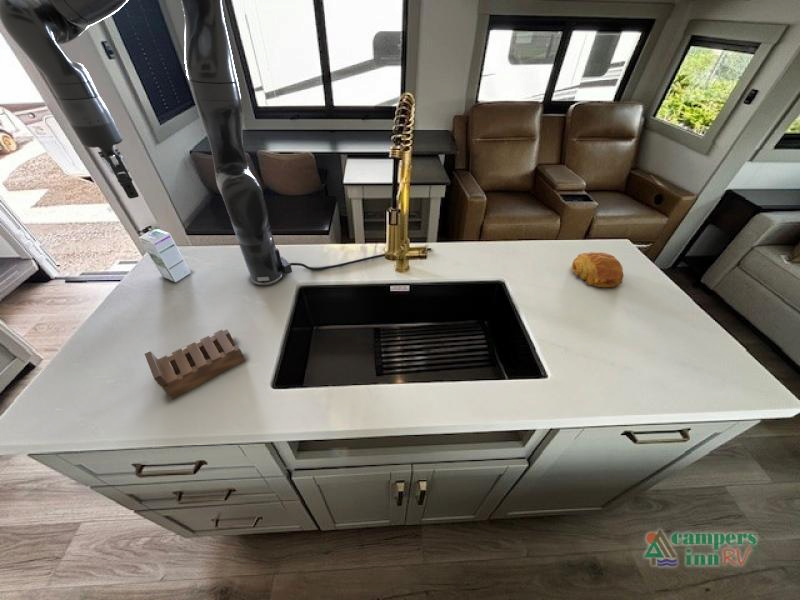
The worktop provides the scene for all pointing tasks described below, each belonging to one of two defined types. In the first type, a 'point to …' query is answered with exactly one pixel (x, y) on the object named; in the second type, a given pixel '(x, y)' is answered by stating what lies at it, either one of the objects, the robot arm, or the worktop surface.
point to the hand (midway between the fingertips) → (130, 191)
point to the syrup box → (165, 254)
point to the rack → (192, 355)
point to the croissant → (598, 269)
